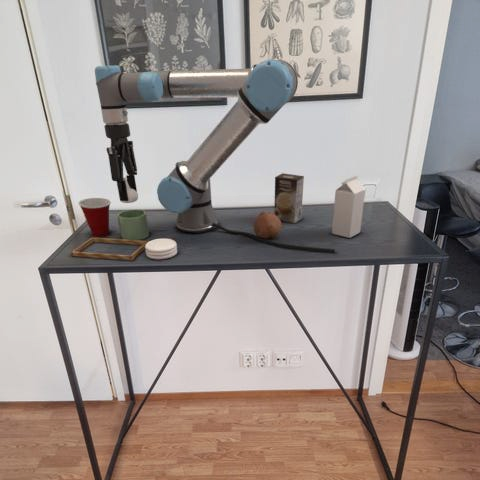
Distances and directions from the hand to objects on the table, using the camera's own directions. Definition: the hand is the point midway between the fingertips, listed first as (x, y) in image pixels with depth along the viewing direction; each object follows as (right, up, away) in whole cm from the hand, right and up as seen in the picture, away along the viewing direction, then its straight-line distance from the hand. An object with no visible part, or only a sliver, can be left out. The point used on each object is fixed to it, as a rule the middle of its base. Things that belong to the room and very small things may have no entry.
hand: (128, 197), depth 143 cm
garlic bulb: (0, -1, +1) cm, 1 cm away
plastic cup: (-13, -10, +10) cm, 19 cm away
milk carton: (+75, -12, +3) cm, 76 cm away
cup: (0, -11, +7) cm, 14 cm away
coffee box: (+56, -3, +18) cm, 59 cm away
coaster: (+13, -20, -7) cm, 25 cm away
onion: (+47, -14, +2) cm, 49 cm away
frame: (-5, -19, -4) cm, 20 cm away
